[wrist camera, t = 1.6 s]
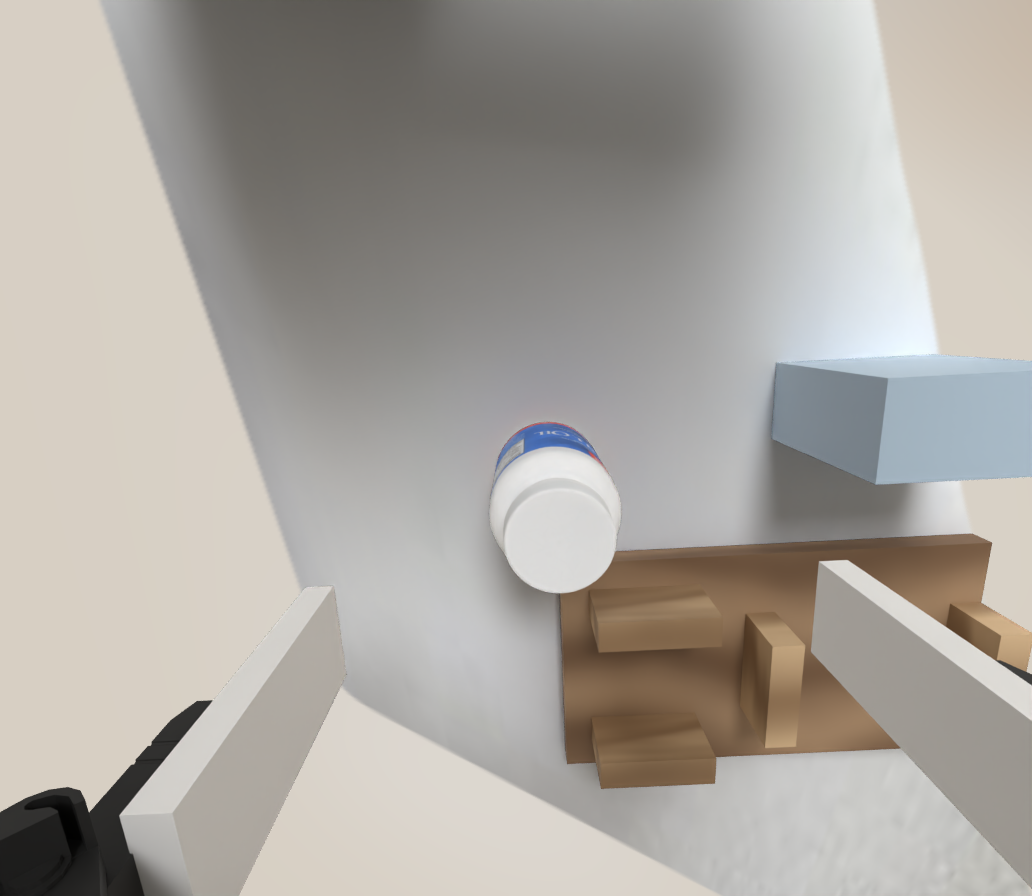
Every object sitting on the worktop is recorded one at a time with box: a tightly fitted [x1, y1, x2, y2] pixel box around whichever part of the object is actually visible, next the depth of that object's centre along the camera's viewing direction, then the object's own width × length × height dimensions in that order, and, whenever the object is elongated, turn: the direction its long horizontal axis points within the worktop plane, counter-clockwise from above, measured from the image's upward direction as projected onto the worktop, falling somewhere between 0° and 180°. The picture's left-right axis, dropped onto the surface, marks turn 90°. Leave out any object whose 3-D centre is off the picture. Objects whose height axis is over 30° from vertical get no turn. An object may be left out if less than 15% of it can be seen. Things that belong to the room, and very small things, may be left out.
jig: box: [560, 534, 1032, 789], centre depth 28 cm, size 13×23×4 cm, turn 93°
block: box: [771, 354, 1032, 485], centre depth 22 cm, size 4×8×8 cm, turn 93°
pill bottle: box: [489, 422, 622, 593], centre depth 22 cm, size 6×5×10 cm
